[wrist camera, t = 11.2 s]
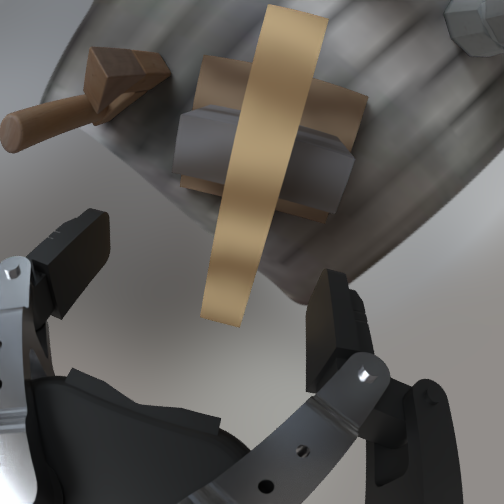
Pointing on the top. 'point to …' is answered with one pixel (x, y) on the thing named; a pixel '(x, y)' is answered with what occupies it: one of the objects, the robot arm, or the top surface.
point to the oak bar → (260, 156)
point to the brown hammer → (88, 97)
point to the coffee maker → (477, 26)
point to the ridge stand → (303, 152)
